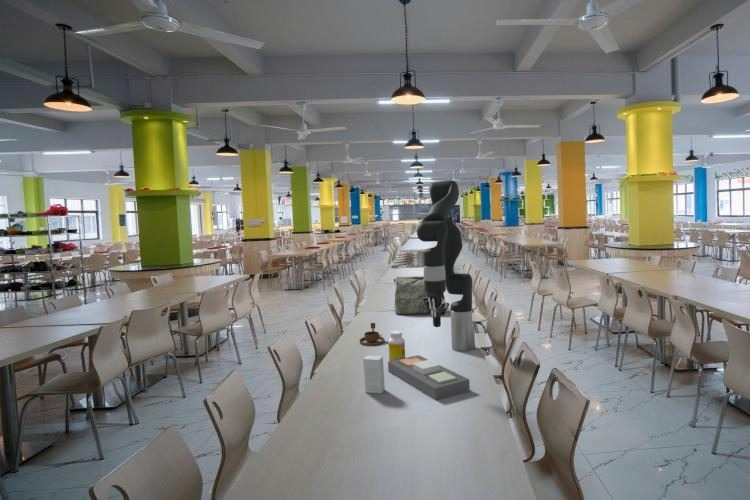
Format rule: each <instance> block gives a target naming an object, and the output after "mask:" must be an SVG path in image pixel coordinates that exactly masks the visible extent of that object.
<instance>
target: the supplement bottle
mask: <svg viewBox="0 0 750 500" xmlns="http://www.w3.org/2000/svg"><path fill="white" fill-rule="evenodd" d="M389 335H390V338H389V339H388V340H387V341H388V362H389V361H394V360H399V359H403V358H406V348H405V347H406V345H405V338H403V337H402V335H403V332H402V331H401V330H392V331H390V333H389Z"/></svg>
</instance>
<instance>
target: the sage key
mask: <svg viewBox="0 0 750 500" xmlns="http://www.w3.org/2000/svg"><path fill="white" fill-rule="evenodd" d="M428 379H430V380H432V381H434V382H436V383H438V384H442V383H446V382H450V381H454V380H456V377H454V376H452V375H450V374H448V373H446V372H441V373H437V374H432V375H428Z"/></svg>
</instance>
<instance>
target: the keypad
mask: <svg viewBox="0 0 750 500" xmlns="http://www.w3.org/2000/svg"><path fill="white" fill-rule="evenodd" d="M412 357H416V358H418V359H420V360H422V361H425V360H429V359H428V358H426V357H424V356H422V355H419V354H417V355H413V356H409V357H405V358H403V359H407V358H412ZM399 360H402V359H399ZM399 360H394V361H389V360H388V362H387V368H388V369H387V371H388V373H389V374H392V375H393V376H394V377H396V378H398V379H399V380H402V382H404V383H406V384H408V385H409V386H411V387H413V388H414V389H416V390H418V391H419V392H421V393H422V394H424V395H426V396H427V397H430V398H431V399H432V400H434V401H438V400H442V399H446V398H449V397H451V396H452V397H453V396H456V395H459V394H460V395H461V394H463V393H467V392H470V391H471V388H470V379H469V378H468V377H465V376H463V375H461V374H459V373H457V372H455V371H452V370H450V369H449V368H447V367H445V366H442V365H440V364H438V365H439V370H440V371H439V372H435V373H431V374H427V375H421V374H419V373H417V372H416V371H414V370H413V366H412V367H406V366H405V365H403V364H401V363H399ZM441 372H446V373H448V374H450V375H452V376H454V377H456V380H454V381H450V382H446V383H442V384H438V383H436V382H434V381H432V380H430V379H428V375H432V374H437V373H441Z"/></svg>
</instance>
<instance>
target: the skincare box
mask: <svg viewBox="0 0 750 500" xmlns="http://www.w3.org/2000/svg"><path fill="white" fill-rule="evenodd" d="M362 360H363V376H364V377H363V378H364V391H365V393H367V394H369V393H370V394H382V393H383V392H384V391H385V389H386V387H385V385H386V384H385V370H384V356H382V355H366V356H365V357H364V358H363V359H362Z"/></svg>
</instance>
